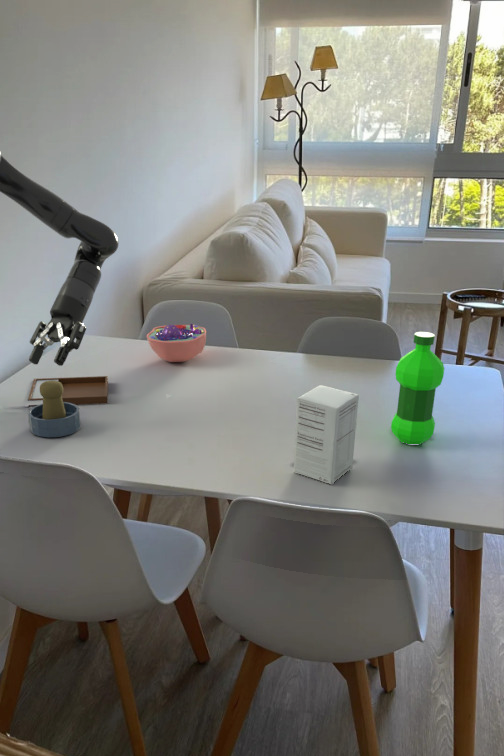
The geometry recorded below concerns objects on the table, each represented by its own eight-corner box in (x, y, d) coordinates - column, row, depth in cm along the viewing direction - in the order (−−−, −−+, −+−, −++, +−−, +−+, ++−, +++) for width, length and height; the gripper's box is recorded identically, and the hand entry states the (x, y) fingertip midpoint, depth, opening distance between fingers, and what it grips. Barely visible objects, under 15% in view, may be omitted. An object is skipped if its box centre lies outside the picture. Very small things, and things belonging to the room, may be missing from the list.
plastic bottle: (378, 438, 162) (390, 332, 151) (410, 428, 168) (423, 325, 157) (411, 454, 155) (426, 344, 144) (443, 443, 160) (459, 336, 150)
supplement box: (315, 457, 152) (320, 383, 145) (353, 468, 148) (360, 393, 140) (291, 473, 145) (295, 396, 138) (331, 486, 141) (337, 407, 133)
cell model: (220, 355, 215) (220, 319, 210) (181, 373, 199) (180, 334, 194) (175, 346, 223) (174, 310, 218) (134, 362, 207) (132, 325, 202)
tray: (28, 407, 175) (27, 399, 174) (34, 385, 188) (34, 378, 187) (107, 403, 178) (107, 396, 177) (108, 382, 191) (107, 375, 190)
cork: (40, 433, 160) (35, 387, 155) (43, 422, 165) (38, 378, 160) (68, 431, 161) (63, 386, 156) (70, 421, 166) (65, 377, 161)
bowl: (28, 440, 157) (25, 421, 155) (33, 420, 167) (31, 402, 165) (79, 437, 159) (77, 419, 157) (81, 418, 169) (80, 400, 167)
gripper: (41, 294, 165) (12, 354, 160) (83, 292, 157) (54, 355, 152) (63, 312, 171) (36, 370, 166) (104, 311, 163) (78, 372, 158)
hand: (45, 363), depth 159 cm, fingers open, 8 cm apart
